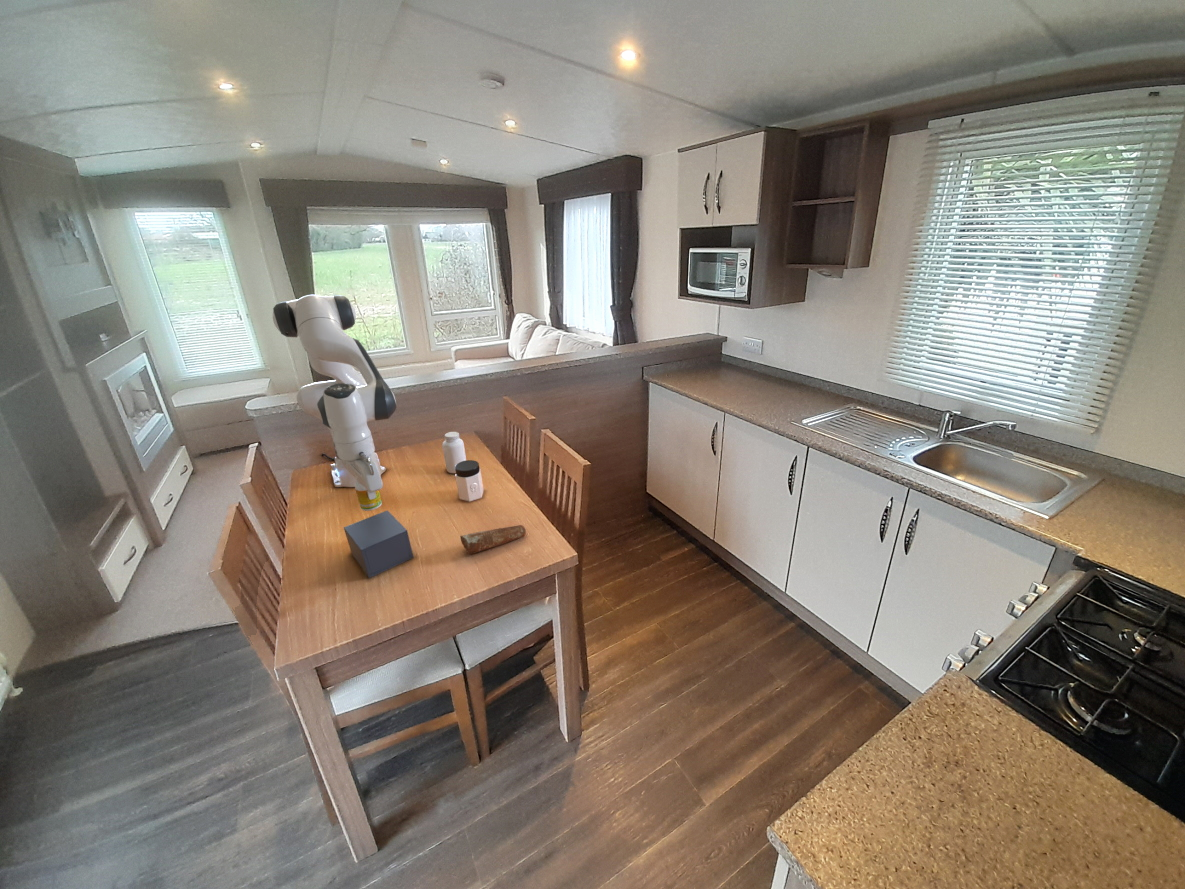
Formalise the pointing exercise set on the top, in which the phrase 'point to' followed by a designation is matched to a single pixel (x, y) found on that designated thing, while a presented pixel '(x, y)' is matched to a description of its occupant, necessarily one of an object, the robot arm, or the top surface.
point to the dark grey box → (378, 543)
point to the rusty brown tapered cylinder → (491, 538)
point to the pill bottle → (453, 451)
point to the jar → (469, 480)
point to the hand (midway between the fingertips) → (367, 493)
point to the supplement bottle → (364, 500)
